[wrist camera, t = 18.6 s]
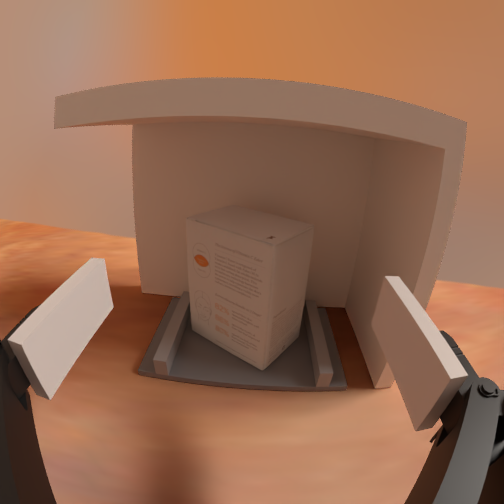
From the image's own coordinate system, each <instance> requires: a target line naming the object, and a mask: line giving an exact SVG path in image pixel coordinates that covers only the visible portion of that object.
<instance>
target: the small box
mask: <svg viewBox="0 0 504 504" xmlns="http://www.w3.org/2000/svg"><path fill="white" fill-rule="evenodd" d="M313 234H314V225H313V224H309V223H305V222H301V221H297V220H293V219H289V218H285V217H282V216H278V215H274V214H270V213H266V212H261V211H257V210H253V209H249V208H245V207H241V206H237V205H232V206H227V207H223V208H219V209H215V210H211V211H208V212H204V213H200V214H196V215H193V216H189V217H187V218H186V238H187V265H188V283H189V298H190V312H191V325H192V330H193V331H195V332H196V333H198V334H199V335H201V336H203V337H204V338H206V339H208V340H209V341H211V342H213V343H214V344H216V345H218V346H219V347H221V348H223V349H224V350H226V351H228V352H229V353H231V354H233V355H235V356H236V357H238V358H240V359H242V360H244V361H246V362H247V363H249V364H251V365H253V366H255V367H256V368H258V369H260V370H262V371H263V370H264V369H265V368H267V367H268V366H269V365H270V364H271V363H272V362H273V361H274V360H275V359H276V358H277V357H278V356H279V355H280V354H281V353H282V352H283V351H284V350H286V349H287V348H288V347H289V346H290V345H291V344H292V343H293V342H294V341H295V340H296V339H297V338H298V337H299V332H300V325H301V320H302V314H303V307H304V301H305V294H306V287H307V280H308V273H309V266H310V259H311V250H312V242H313Z"/></svg>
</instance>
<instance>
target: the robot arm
mask: <svg viewBox="0 0 504 504" xmlns="http://www.w3.org/2000/svg"><path fill="white" fill-rule="evenodd" d="M112 309H113V302H112V297H111V292H110V287H109V282H108V277H107V271H106V265H105V259H101V258H91V259H90V260H88V261H87V262H86V263H85V264H84V265H83V266H82V267H81V268H79V269H78V270H77V271H76V272H75V273H74V274H73V275H72V276H71V277H70V278H68V279H67V280H66V281H65V282H64V283H63V284H62V285H61V286H60V287H59V288H58V289H57V290H56V291H55V292H54V293H52V294H51V295H50V296H49V297H48V298H47V299H46V300H45V301H44V302H43V303H42V304H40V305H39V306H37V307H35V308H34V309H32V310H31V311H30V312H29V313H28V314H27V315H26V316H25V318H23V319H22V320H21V321H20V323H18V324H17V325H16V326H15V327H14V328H13V329H12V330H11V331H10V333H9V334H8V335H7V336H6V337H5V338H4V339H3V340H2V341H1V340H0V504H57V503H56V501H55V498H54V495H53V492H52V489H51V486H50V483H49V480H48V477H47V474H46V470H45V467H44V463H43V459H42V456H41V452H40V448H39V443H38V439H37V434H36V429H35V424H34V419H33V413H32V407H31V400H30V395H29V392H28V391H27V388H28V387H29V386H30V384H31V386H32V388H33V389H34V391H35V393H36V395H39V396H41V397H44V398H46V399H48V400H51V399H52V397H53V396H54V394H55V392H56V391H57V389H58V388H59V386H60V384H61V383H62V381H63V380H64V378H65V377H66V375H67V373H68V372H69V370H70V369H71V367H72V366H73V364H74V363H75V361H76V360H77V358H78V357H79V355H80V354H81V352H82V351H83V350H84V348H85V347H86V345H87V344H88V342H89V341H90V339H91V338H92V337H93V335H94V334H95V332H96V331H97V329H98V328H99V327H100V325H101V324H102V322H103V321H104V320H105V318H106V317H107V316H108V314H109V313H110V311H111V310H112ZM371 326H372V328H373V330H374V332H375V334H376V337H377V339H378V341H379V343H380V345H381V348H382V350H383V352H384V354H385V357H386V359H387V361H388V364H389V366H390V368H391V371H392V373H393V375H394V378H395V380H396V383H397V385H398V388H399V390H400V392H401V395H402V397H403V400H404V403H405V405H406V408H407V410H408V413H409V415H410V418H411V421H412V423H413V426H414V429H415V431H419V430H424V429H428V428H432V427H433V426H434V425H435V423H436V422H437V421H438V419H439V418H440V419H441V421H442V423H443V425H442V426H441V428H440V429H439V430H438V431H437V433H436V434H435V435H434V436H433V437H432V439H431V440H430V442H431V443H432V442H433V441H434V439H435V441H434V444H433V446H432V449H431V451H430V453H429V456H428V458H427V460H426V462H425V464H424V467H423V469H422V471H421V473H420V475H419V477H418V479H417V481H416V483H415V485H414V487H413V489H412V491H411V493H410V494H409V496H408V498H407V500H406V502H405V503H404V504H504V390H499V388H498V386H497V385H496V384H495V383H494V382H493V381H492V380H490V379H488V378H484V377H482V378H479V377H478V375H477V374H476V372H475V371H474V369H473V368H472V366H471V365H470V363H469V361H468V360H467V358H466V357H465V355H463V353H462V351H461V350H460V348H458V345H457V344H456V342H455V341H454V339H453V338H452V337H451V336H449V335H448V334H447V333H446V332H444V331H439V330H438V329H437V327H436V326H435V324H434V323H433V321H432V320H431V319H430V317H429V316H428V315H427V313H426V312H425V310H424V309H423V308H422V306H421V305H420V304H419V302H418V301H417V300H416V298H415V297H414V296H413V294H412V293H411V292H410V290H409V289H408V288H407V286H406V285H405V284H404V283H403V281H402V280H401V279H400V277H399V276H385V277H384V281H383V284H382V288H381V292H380V295H379V299H378V302H377V306H376V309H375V313H374V316H373V319H372V323H371Z"/></svg>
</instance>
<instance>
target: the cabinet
mask: <svg viewBox="0 0 504 504" xmlns="http://www.w3.org/2000/svg"><path fill="white" fill-rule="evenodd" d="M98 125H133V130H132V167H133V168H132V169H133V200H134V217H135V231H136V243H137V254H138V264H139V272H140V281H141V288H142V293H150V294H159V295H168V296H177V297H181V298H176V297H173V298H172V300H171V302H170V304H169V306H168V308H167V310H166V312H165V314H164V316H163V318H162V320H161V322H160V324H159V326H158V329H157V331H156V333H155V335H154V337H153V339H152V341H151V343H150V345H149V347H148V349H147V352H146V354H145V356H144V358H143V360H142V362H141V364H140V367H139V369H138V373H139V375H144V376H149V377H155V378H160V379H166V380H173V381H179V382H186V383H194V384H202V385H211V386H220V387H231V388H243V389H258V390H280V391H340V390H346V389H347V382H346V379H345V375H344V371H343V367H342V364H341V360H340V356H339V353H338V349H337V346H336V342H335V339H334V335H333V332H332V328H331V325H330V322H329V318H328V315H327V312H326V308H317V307H342V308H345V310H346V312H347V315H348V317H349V320H350V322H351V325H352V327H353V330H354V333H355V335H356V338H357V341H358V343H359V346H360V349H361V351H362V354H363V357H364V359H365V362H366V365H367V368H368V371H369V373H370V376H371V379H372V382H373V385H374V388H375V389H376V388H388V387H391V386H392V384H393V382H394V380H395V378H394V375H393V373H392V371H391V368H390V366H389V364H388V361H387V359H386V357H385V354H384V352H383V350H382V348H381V345H380V343H379V341H378V339H377V337H376V334H375V332H374V330H373V328H372V326H371V323H372V319H373V316H374V313H375V309H376V306H377V302H378V299H379V295H380V292H381V288H382V284H383V281H384V277H385V276H399V277H400V279H401V280H402V281H403V283H404V284H405V285H406V286H407V288H408V289H409V290H410V292H411V293H412V294H413V296H414V297H415V298H416V300H417V301H418V302H419V304H420V305H421V306H422V308H423V309H424V310H426V307H427V304H428V302H429V299H430V296H431V293H432V290H433V287H434V284H435V281H436V278H437V275H438V272H439V269H440V265H441V262H442V259H443V255H444V252H445V248H446V244H447V241H448V236H449V233H450V229H451V224H452V220H453V215H454V211H455V206H456V201H457V196H458V190H459V185H460V179H461V172H462V165H463V158H464V149H465V140H466V128H467V122H465V121H462V120H460V119H457V118H454V117H451V116H448V115H446V114H443V113H440V112H436V111H433V110H430V109H427V108H424V107H421V106H417V105H413V104H410V103H406V102H403V101H399V100H395V99H391V98H387V97H383V96H378V95H374V94H370V93H365V92H360V91H355V90H349V89H344V88H338V87H331V86H325V85H318V84H311V83H302V82H294V81H283V80H270V79H253V78H182V79H166V80H154V81H144V82H135V83H127V84H119V85H113V86H106V87H100V88H95V89H90V90H84V91H79V92H75V93H71V94H66V95H61V96H57V97H55V117H54V128H55V129H56V128H66V127H80V126H98ZM232 205H237V206H241V207H245V208H249V209H253V210H257V211H261V212H266V213H270V214H274V215H278V216H282V217H285V218H289V219H293V220H297V221H301V222H305V223H309V224H313V225H314V234H313V242H312V250H311V259H310V266H309V273H308V280H307V287H306V294H305V301H304V307H303V314H302V320H301V325H300V332H299V337H298V338H297V339H296V340H295V341H294V342H293V343H292V344H291V345H290V346H289V347H288V348H287V349H286V350H284V351H283V352H282V353H281V354H280V355H279V356H278V357H277V358H276V359H275V360H274V361H273V362H272V363H271V364H270V365H269V366H268V367H267V368H265V369H264V370H263V371H262V370H260V369H258V368H256V367H255V366H253V365H251V364H249V363H247V362H246V361H244V360H242V359H240V358H238V357H236V356H235V355H233V354H231V353H229V352H228V351H226V350H224V349H223V348H221V347H219V346H218V345H216V344H214V343H213V342H211V341H209V340H208V339H206V338H204V337H203V336H201V335H199V334H198V333H196V332H195V331H193V330H192V325H191V312H190V298H189V283H188V265H187V238H186V218H187V217H189V216H193V215H196V214H200V213H204V212H208V211H211V210H215V209H219V208H223V207H227V206H232Z"/></svg>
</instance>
